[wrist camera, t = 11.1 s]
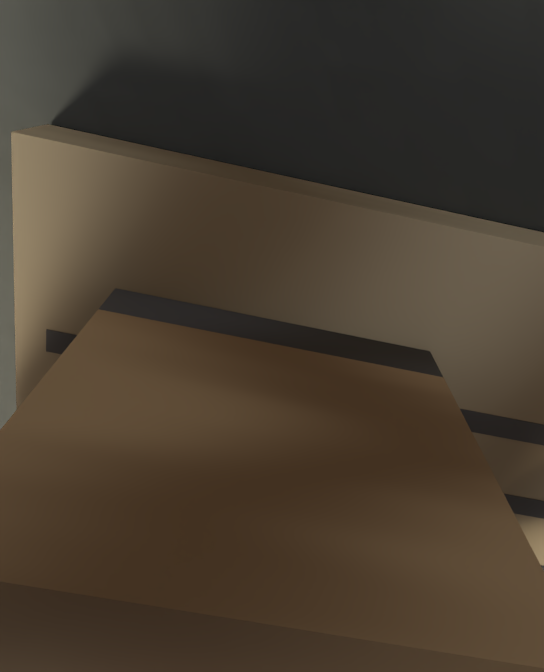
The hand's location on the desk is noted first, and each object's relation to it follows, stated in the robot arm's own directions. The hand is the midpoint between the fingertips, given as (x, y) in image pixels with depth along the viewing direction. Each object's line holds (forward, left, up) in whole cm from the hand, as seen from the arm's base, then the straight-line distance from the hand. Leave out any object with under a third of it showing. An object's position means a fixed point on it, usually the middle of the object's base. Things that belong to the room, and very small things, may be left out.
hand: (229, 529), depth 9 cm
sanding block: (0, 0, -1) cm, 1 cm away
